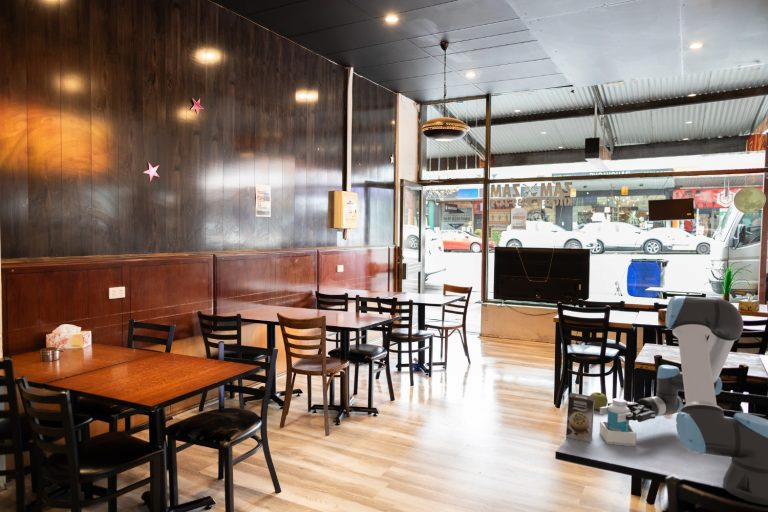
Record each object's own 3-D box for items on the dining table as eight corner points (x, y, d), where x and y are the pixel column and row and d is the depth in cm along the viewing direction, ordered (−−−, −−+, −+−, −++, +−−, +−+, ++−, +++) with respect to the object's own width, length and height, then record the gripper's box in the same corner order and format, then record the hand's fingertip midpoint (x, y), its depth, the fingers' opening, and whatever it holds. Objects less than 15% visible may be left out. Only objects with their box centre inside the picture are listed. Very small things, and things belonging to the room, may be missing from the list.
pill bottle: (630, 439, 192) (632, 404, 191) (609, 437, 194) (611, 402, 193) (625, 432, 199) (627, 397, 199) (604, 430, 201) (606, 396, 200)
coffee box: (565, 437, 197) (567, 396, 196) (568, 432, 203) (570, 391, 202) (591, 443, 193) (593, 400, 192) (592, 437, 198) (595, 395, 198)
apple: (589, 411, 229) (590, 395, 228) (588, 405, 236) (589, 390, 236) (607, 413, 226) (608, 397, 226) (606, 407, 234) (607, 392, 233)
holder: (635, 446, 191) (636, 433, 191) (606, 443, 192) (607, 430, 192) (627, 435, 201) (627, 423, 201) (599, 433, 202) (600, 421, 202)
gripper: (673, 425, 195) (632, 434, 185) (627, 408, 213) (587, 415, 203) (674, 406, 195) (633, 414, 185) (628, 390, 213) (588, 396, 203)
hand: (609, 414), depth 194 cm, fingers closed on pill bottle, 7 cm apart
